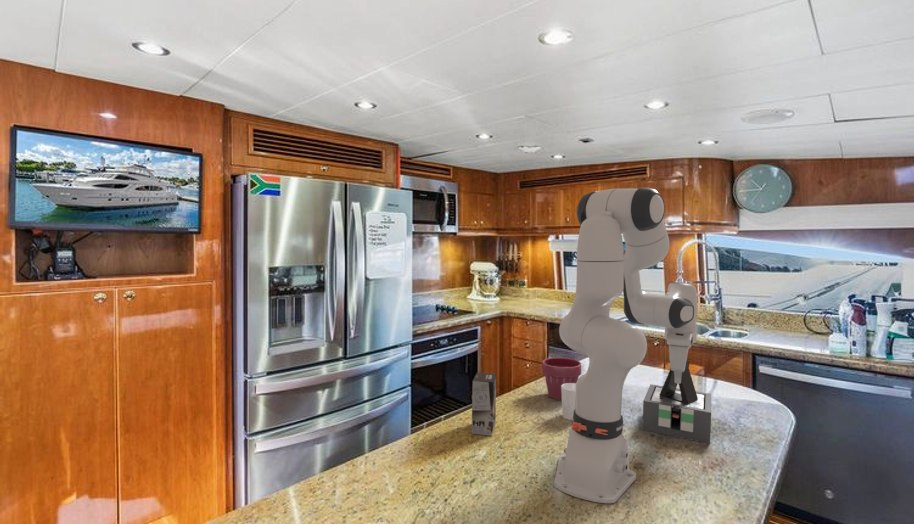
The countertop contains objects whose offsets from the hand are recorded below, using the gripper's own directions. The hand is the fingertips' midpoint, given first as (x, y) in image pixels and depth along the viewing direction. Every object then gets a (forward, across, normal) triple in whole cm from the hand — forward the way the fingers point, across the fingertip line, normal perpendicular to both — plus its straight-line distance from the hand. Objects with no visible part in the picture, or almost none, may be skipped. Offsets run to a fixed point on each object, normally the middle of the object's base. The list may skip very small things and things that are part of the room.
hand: (678, 378), depth 140 cm
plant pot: (+15, -7, -39) cm, 42 cm away
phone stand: (+6, 0, 0) cm, 6 cm away
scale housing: (+15, 0, 0) cm, 15 cm away
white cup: (+15, +10, -30) cm, 35 cm away
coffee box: (+15, +33, -51) cm, 63 cm away
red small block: (+9, +9, 0) cm, 13 cm away
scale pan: (+7, +1, 0) cm, 7 cm away
